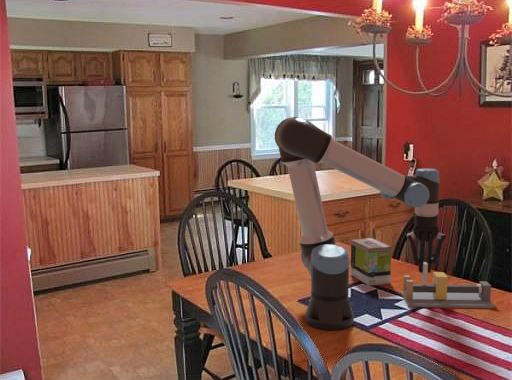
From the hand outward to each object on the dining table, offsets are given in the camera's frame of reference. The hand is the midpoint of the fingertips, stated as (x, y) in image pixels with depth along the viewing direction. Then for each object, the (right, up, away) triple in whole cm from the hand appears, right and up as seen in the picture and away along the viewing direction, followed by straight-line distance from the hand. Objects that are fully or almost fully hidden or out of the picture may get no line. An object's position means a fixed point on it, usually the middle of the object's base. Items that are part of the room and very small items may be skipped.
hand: (424, 281), depth 184 cm
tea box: (-13, -4, +25) cm, 29 cm away
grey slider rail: (+8, -7, 0) cm, 10 cm away
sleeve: (+5, -5, 0) cm, 8 cm away
